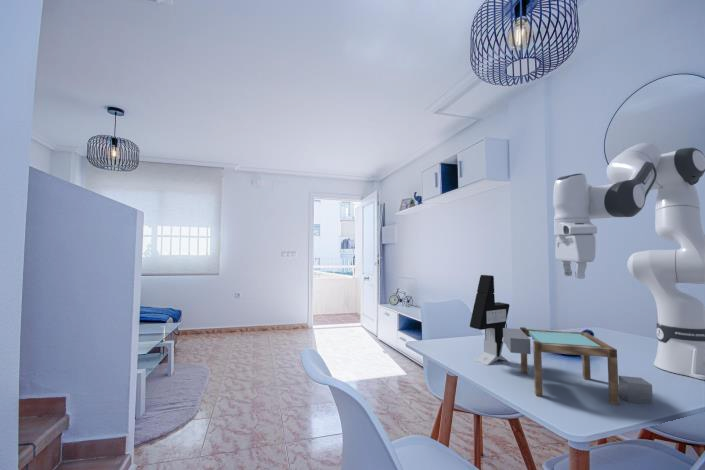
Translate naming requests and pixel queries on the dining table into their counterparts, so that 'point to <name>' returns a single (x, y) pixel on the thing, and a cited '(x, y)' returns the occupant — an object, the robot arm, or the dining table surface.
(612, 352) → the frame
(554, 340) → the trapdoor
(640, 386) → the weight
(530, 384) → the dining table surface
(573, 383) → the dining table surface
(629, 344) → the dining table surface
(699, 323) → the robot arm
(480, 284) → the award
